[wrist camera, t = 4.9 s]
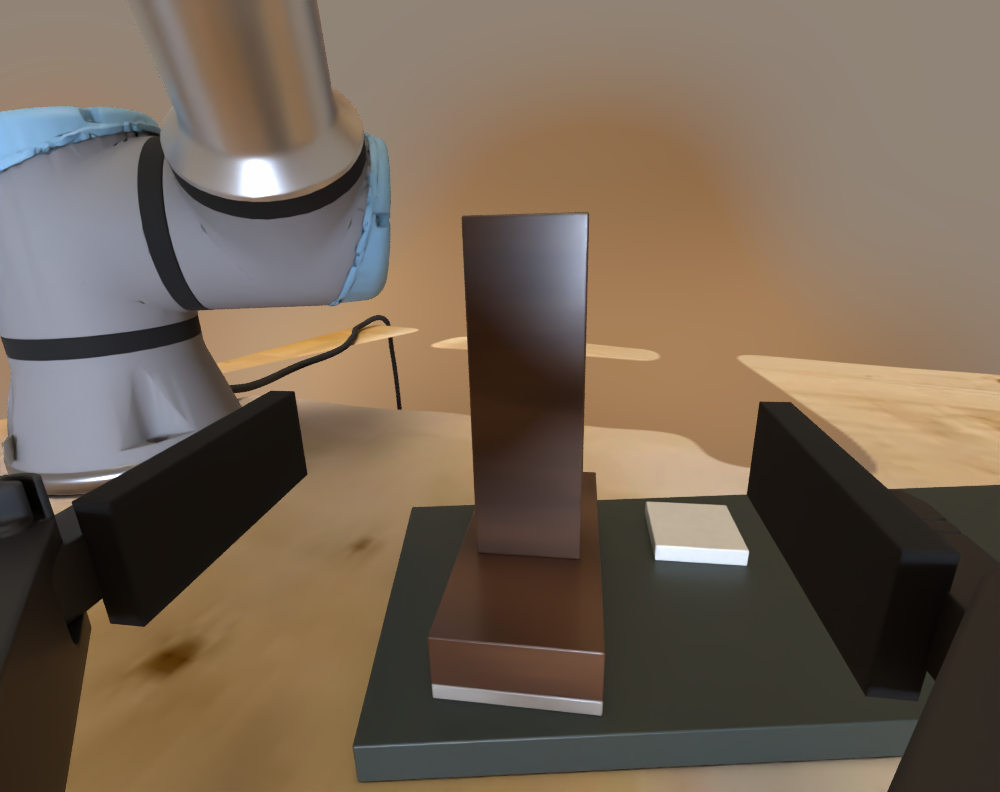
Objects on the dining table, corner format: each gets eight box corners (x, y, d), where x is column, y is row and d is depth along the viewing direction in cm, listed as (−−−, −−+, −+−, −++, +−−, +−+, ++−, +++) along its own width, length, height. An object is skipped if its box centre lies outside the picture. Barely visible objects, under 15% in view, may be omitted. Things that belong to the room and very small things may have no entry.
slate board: (414, 530, 30) (411, 506, 29) (1010, 507, 30) (1018, 483, 30) (357, 783, 16) (351, 746, 16) (1423, 732, 17) (1448, 695, 16)
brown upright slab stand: (490, 509, 29) (480, 216, 24) (594, 514, 28) (604, 213, 23) (432, 698, 17) (390, 216, 13) (602, 717, 17) (626, 209, 12)
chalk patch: (644, 514, 28) (645, 500, 28) (724, 518, 27) (726, 504, 27) (654, 560, 24) (655, 545, 24) (747, 566, 23) (749, 551, 23)
